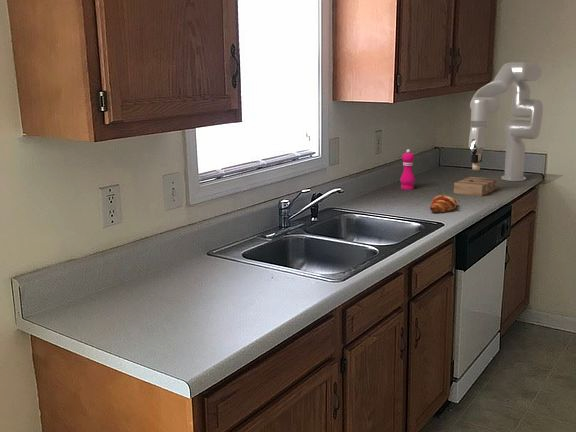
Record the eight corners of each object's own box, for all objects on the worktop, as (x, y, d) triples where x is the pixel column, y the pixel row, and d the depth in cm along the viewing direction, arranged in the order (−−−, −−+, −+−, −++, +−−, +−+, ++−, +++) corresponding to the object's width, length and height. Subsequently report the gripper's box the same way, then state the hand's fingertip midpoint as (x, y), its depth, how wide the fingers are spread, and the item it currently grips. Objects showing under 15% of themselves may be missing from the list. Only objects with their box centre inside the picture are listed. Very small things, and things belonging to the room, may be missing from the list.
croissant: (449, 211, 293) (442, 195, 294) (468, 204, 286) (461, 187, 287) (426, 220, 278) (418, 202, 278) (445, 212, 271) (438, 194, 272)
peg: (473, 168, 319) (474, 144, 316) (481, 169, 316) (483, 145, 314) (470, 169, 316) (471, 145, 313) (478, 170, 313) (479, 145, 310)
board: (469, 186, 331) (470, 176, 330) (496, 189, 322) (497, 179, 321) (453, 193, 315) (454, 183, 314) (481, 196, 307) (482, 185, 306)
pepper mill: (415, 189, 325) (416, 150, 320) (401, 190, 325) (402, 150, 320) (413, 187, 332) (414, 148, 327) (399, 187, 332) (399, 148, 327)
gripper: (477, 122, 320) (475, 159, 324) (464, 125, 307) (462, 163, 311) (492, 123, 315) (490, 160, 319) (479, 126, 302) (477, 165, 306)
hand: (476, 161), depth 315 cm, fingers closed on peg, 4 cm apart
